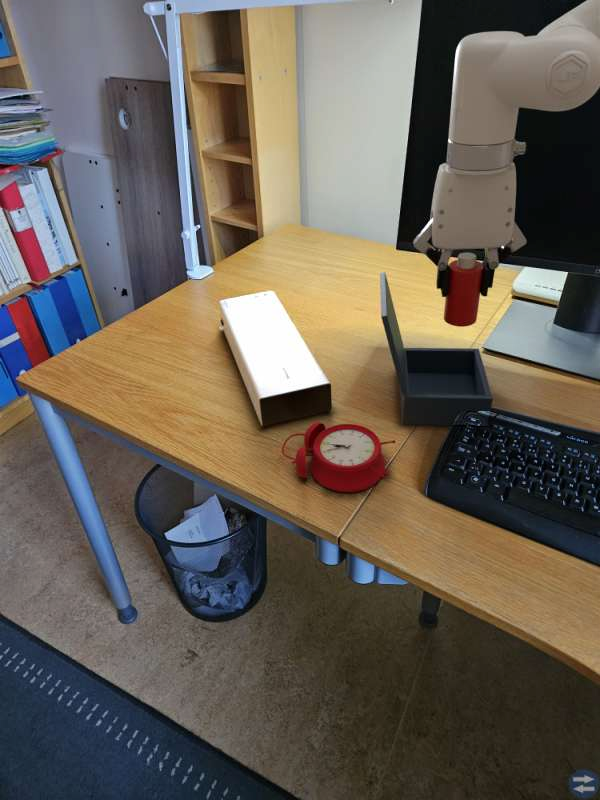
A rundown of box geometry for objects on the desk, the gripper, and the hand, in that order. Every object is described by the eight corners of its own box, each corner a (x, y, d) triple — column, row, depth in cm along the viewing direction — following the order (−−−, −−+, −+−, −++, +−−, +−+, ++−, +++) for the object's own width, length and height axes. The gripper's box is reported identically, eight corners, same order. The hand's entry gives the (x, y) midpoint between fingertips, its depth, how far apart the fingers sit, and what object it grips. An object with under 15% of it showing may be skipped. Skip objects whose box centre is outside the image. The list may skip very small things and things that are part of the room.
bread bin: (474, 375, 94) (478, 348, 91) (487, 426, 84) (493, 398, 81) (398, 373, 96) (400, 347, 93) (402, 424, 85) (404, 396, 82)
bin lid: (385, 271, 85) (380, 273, 85) (387, 315, 74) (381, 316, 74) (403, 344, 92) (398, 345, 92) (407, 393, 82) (402, 395, 82)
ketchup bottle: (474, 311, 82) (482, 248, 77) (478, 326, 79) (487, 262, 73) (442, 311, 83) (447, 249, 77) (445, 327, 79) (451, 263, 73)
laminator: (332, 415, 88) (331, 383, 84) (256, 433, 85) (252, 400, 82) (276, 317, 114) (273, 289, 110) (216, 328, 112) (212, 300, 108)
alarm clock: (386, 482, 71) (276, 443, 73) (374, 512, 75) (269, 474, 77) (400, 430, 78) (300, 396, 80) (388, 460, 83) (293, 427, 84)
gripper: (544, 143, 69) (520, 279, 80) (406, 150, 71) (400, 282, 82) (561, 159, 63) (532, 304, 74) (409, 166, 65) (403, 306, 76)
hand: (463, 291), depth 78 cm, fingers closed on ketchup bottle, 4 cm apart
